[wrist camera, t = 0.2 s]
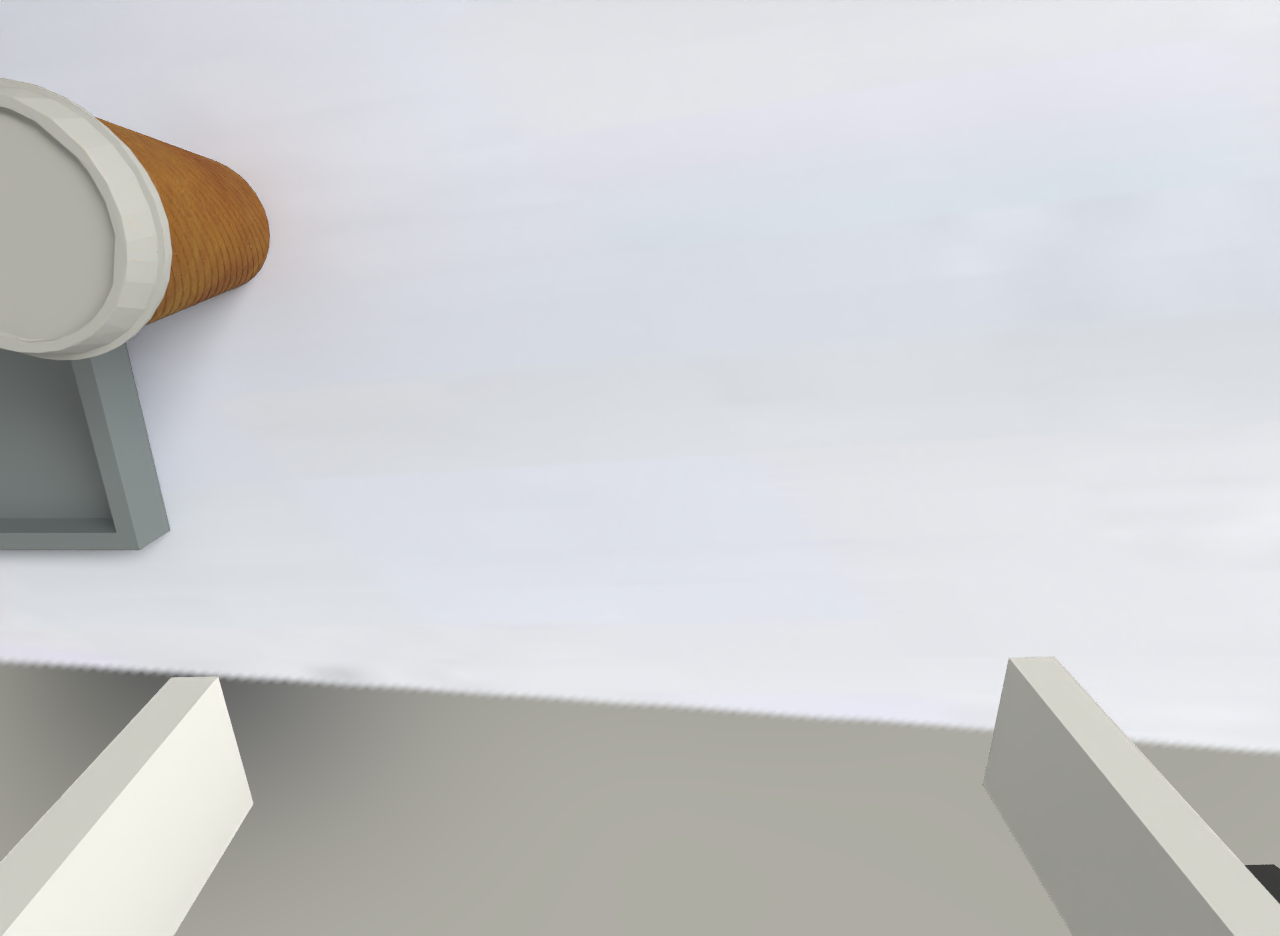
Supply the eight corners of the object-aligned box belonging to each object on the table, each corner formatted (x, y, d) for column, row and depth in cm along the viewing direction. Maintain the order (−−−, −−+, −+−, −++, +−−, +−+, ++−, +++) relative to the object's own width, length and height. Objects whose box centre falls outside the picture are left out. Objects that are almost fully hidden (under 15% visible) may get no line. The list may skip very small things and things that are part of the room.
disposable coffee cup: (276, 111, 34) (87, 55, 23) (322, 314, 37) (176, 355, 26) (82, 130, 34) (-198, 86, 23) (144, 330, 38) (-77, 377, 26)
